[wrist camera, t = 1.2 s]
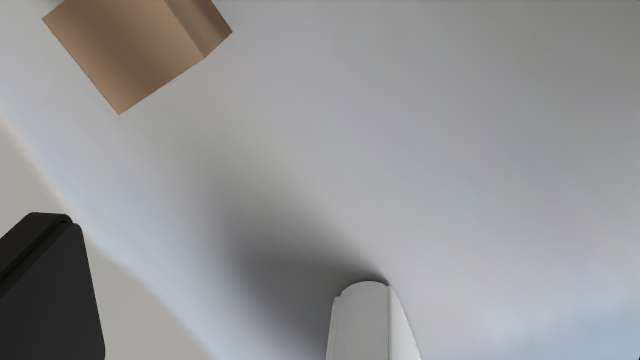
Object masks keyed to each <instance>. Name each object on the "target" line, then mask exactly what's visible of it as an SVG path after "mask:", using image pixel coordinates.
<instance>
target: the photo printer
mask: <svg viewBox="0 0 640 360" xmlns="http://www.w3.org/2000/svg"><path fill="white" fill-rule="evenodd" d="M325 360H421V357H420V354H419V351H418V348H417V345H416V342H415V340H414V337H413V334H412V332H411V329H410V326H409V324H408V321H407V318H406V316H405V313H404V311H403V308H402V306H401V303H400V301H399V299H398V297H397V295H396V293H395V291H394V290H393V289H392V287H391V286H385V285H384V284H382V283H379V282H374V281H363V282H358V283H355V284H352V285H350V286H349V287H347V288H346V289H344V290H343V291H342V293H341V295H340V296H337V297H335V298H334V302H333V306H332V312H331V320H330V328H329V336H328V344H327V352H326V359H325Z"/></svg>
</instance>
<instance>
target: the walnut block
mask: <svg viewBox="0 0 640 360" xmlns="http://www.w3.org/2000/svg"><path fill="white" fill-rule="evenodd" d="M42 20H43V22H44V23H45V24H46V25H47V27H48V28H49V29H50V30H51V32H52V33H53V34H54V35H55V37H56V38H57V39H58V40H59V42H60V43H61V44H62V45H63V47H64V48H65V49H66V50H67V52H68V53H69V54H70V55H71V57H72V58H73V59H74V60H75V62H76V63H77V64H78V65H79V67H80V68H81V69H82V70H83V72H84V73H85V74H86V75H87V77H88V78H89V79H90V80H91V82H92V83H93V84H94V85H95V87H96V88H97V89H98V90H99V92H100V93H101V94H102V95H103V97H104V98H105V99H106V100H107V102H108V103H109V104H110V105H111V107H112V108H113V109H114V110H115V112H116V113H117V114H118V115H120V114H122V113H123V112H125V111H126V110H128V109H129V108H131V107H132V106H134V105H135V104H136V103H138V102H139V101H141V100H142V99H144V98H145V97H147V96H148V95H150V94H151V93H153V92H154V91H156V90H157V89H159V88H160V87H162V86H163V85H165V84H166V83H168V82H169V81H171V80H172V79H174V78H175V77H177V76H178V75H180V74H181V73H183V72H184V71H186V70H187V69H189V68H190V67H192V66H193V65H195V64H196V63H198V62H199V61H201V60H202V59H204V58H205V57H206V56H207V55H208V54H209V53H211V52H212V51H213V50H214V49H215V48H216V47H217V46H218V45H219V44H220V43H221V42H222V41H223V40H225V39H226V38H227V37H228V36H229V35H230V34H231V33H232V30H231V29H230V27H229V26H228V24H227V23H226V21H225V20H224V18H223V17H222V16H221V14H220V13H219V11H218V10H217V8H216V7H215V5H214V4H213V2H212V1H211V0H65V1H64V2H63V3H61V4H60V5H59V6H57V7H56V8H55V9H54V10H52V11H51V12H50V13H48V14H47V15H46V16H45V17H43V18H42Z"/></svg>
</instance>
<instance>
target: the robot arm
mask: <svg viewBox="0 0 640 360" xmlns="http://www.w3.org/2000/svg"><path fill="white" fill-rule="evenodd" d="M104 359H105V344H104V339H103V334H102V329H101V324H100V319H99V314H98V309H97V304H96V298H95V293H94V289H93V283H92V278H91V273H90V269H89V263H88V258H87V253H86V248H85V243H84V238H83V233H82V230H81V227H80V226H79V225H78V224H76V223H73V222H72V220H71V218H70V217H69V216H68V215H66V214H54V213H38V212H32V213H29V214H28V215H26V216H25V217H24V218H23V219H22V220H21V221H20V222H18V223H17V224H16V225H15V226H14V227H13V228H12V229H10V230H9V231H8V232H7V233H6V234H5V235H4V236H3V237H2V238H0V360H104ZM639 360H640V357H639Z"/></svg>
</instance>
